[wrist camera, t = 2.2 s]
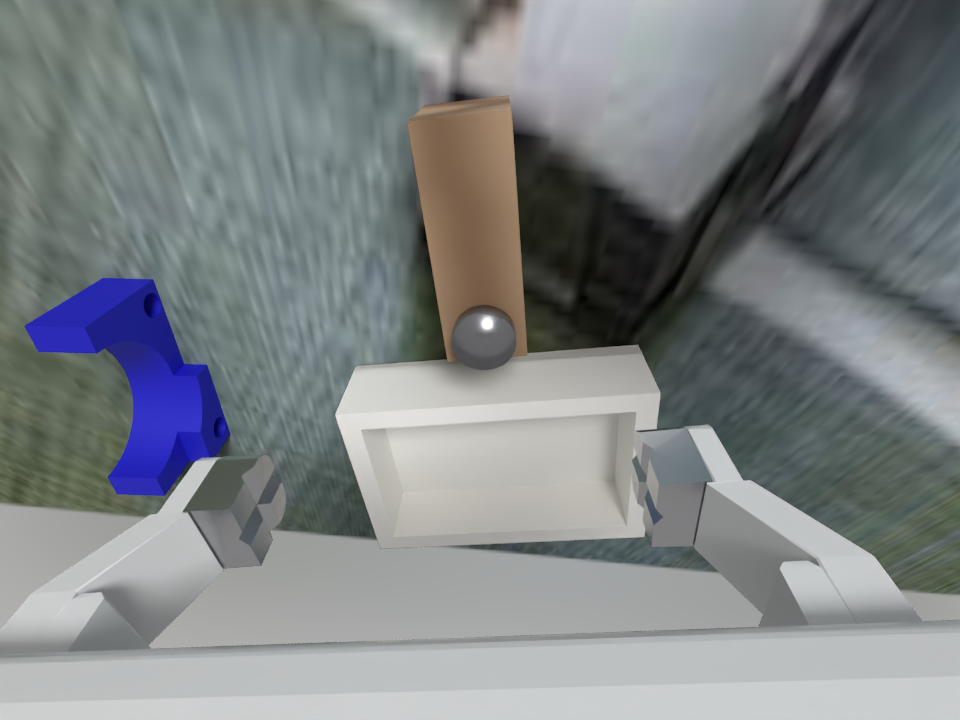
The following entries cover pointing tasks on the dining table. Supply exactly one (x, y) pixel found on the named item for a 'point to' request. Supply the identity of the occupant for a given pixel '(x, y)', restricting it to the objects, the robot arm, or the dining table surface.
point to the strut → (472, 227)
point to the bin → (500, 447)
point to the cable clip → (141, 379)
